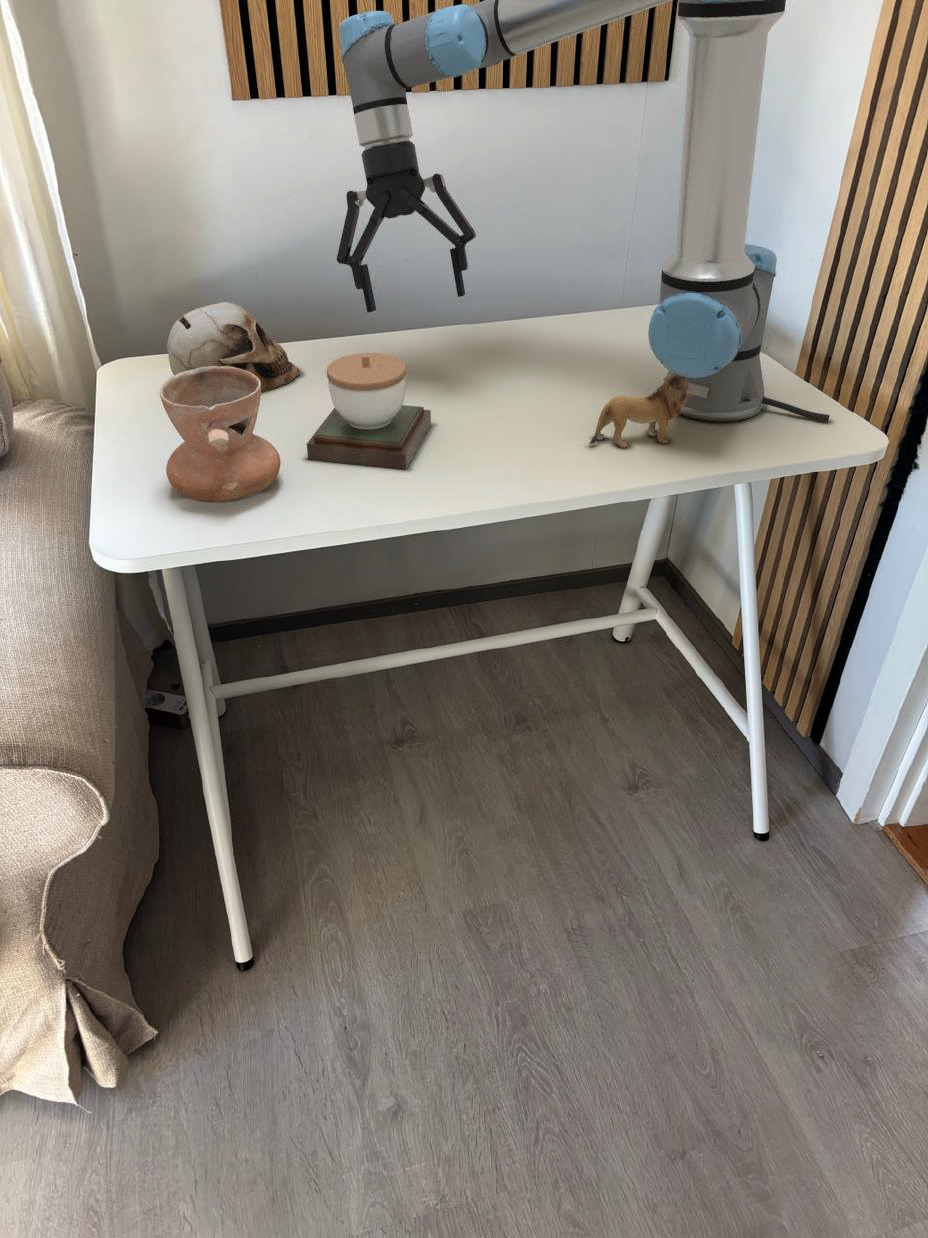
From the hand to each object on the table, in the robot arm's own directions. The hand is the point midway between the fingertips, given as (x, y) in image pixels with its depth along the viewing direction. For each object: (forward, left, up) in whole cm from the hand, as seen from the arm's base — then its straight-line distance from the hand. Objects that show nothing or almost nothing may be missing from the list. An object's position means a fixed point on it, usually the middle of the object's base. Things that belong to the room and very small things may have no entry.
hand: (416, 303), depth 141 cm
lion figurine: (-34, +8, -14) cm, 38 cm away
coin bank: (+30, +1, -14) cm, 33 cm away
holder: (+3, +17, -14) cm, 22 cm away
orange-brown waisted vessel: (+18, +33, -14) cm, 40 cm away
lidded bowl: (+3, +17, -11) cm, 20 cm away
